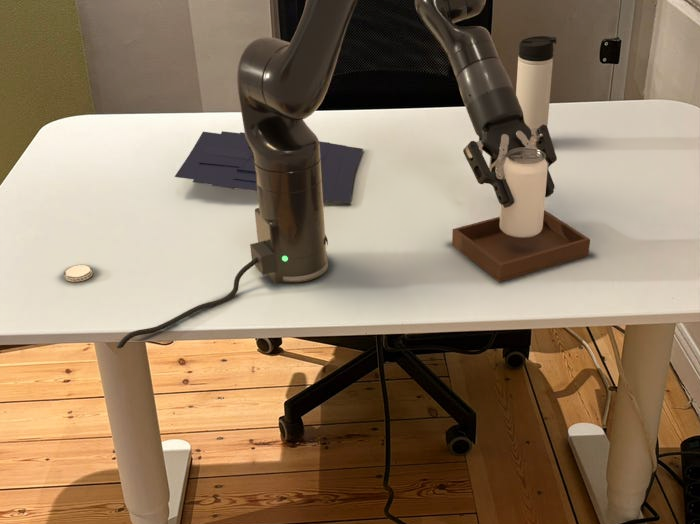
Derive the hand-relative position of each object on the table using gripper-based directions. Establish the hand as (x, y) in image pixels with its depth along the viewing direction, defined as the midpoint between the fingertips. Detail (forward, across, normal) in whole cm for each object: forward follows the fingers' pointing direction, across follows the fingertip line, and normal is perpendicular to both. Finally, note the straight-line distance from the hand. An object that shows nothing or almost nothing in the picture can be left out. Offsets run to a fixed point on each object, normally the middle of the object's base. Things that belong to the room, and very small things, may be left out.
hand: (529, 200), depth 137 cm
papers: (-26, -22, +40) cm, 52 cm away
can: (+3, 0, +5) cm, 6 cm away
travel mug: (-18, +26, +32) cm, 45 cm away
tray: (+5, 0, +7) cm, 9 cm away
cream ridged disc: (-13, -61, +26) cm, 68 cm away
